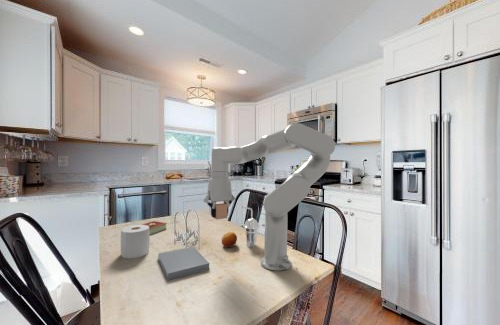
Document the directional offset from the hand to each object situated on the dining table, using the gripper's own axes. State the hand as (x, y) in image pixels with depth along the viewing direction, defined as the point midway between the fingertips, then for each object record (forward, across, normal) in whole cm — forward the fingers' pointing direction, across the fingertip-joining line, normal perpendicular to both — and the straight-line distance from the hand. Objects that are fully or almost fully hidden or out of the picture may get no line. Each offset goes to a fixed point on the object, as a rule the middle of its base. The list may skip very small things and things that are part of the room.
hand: (219, 215), depth 97 cm
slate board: (+19, +15, -4) cm, 25 cm away
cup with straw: (+20, -21, -7) cm, 30 cm away
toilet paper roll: (+20, +31, -26) cm, 45 cm away
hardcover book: (+20, +23, -56) cm, 64 cm away
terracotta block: (+1, 0, 0) cm, 1 cm away
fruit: (+20, -11, -12) cm, 25 cm away
